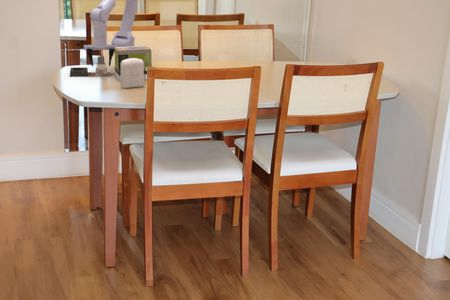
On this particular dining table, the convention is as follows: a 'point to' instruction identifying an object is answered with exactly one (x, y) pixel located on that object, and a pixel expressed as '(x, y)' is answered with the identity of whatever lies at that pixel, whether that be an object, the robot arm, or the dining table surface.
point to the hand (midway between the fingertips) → (101, 65)
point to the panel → (84, 72)
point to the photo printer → (132, 73)
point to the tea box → (132, 52)
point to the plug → (101, 63)
